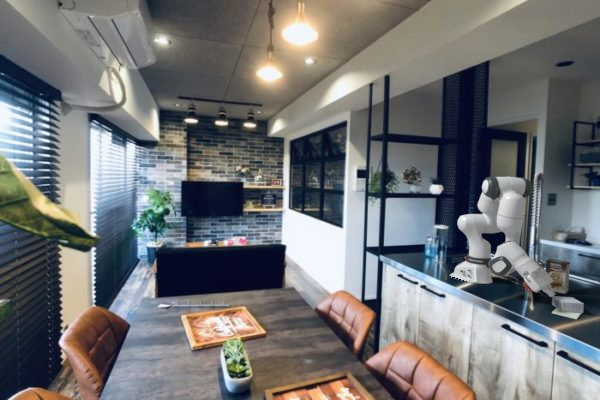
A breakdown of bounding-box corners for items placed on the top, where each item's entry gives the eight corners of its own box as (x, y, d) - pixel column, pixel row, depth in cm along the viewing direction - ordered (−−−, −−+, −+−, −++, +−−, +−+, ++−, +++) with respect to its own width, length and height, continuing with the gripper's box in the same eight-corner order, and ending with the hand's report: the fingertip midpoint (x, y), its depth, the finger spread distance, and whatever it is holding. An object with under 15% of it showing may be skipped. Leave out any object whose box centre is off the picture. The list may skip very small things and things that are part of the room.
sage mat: (551, 313, 146) (551, 311, 146) (558, 307, 153) (558, 306, 153) (576, 319, 140) (576, 318, 140) (582, 313, 147) (582, 311, 147)
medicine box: (561, 311, 146) (583, 313, 145) (561, 301, 146) (584, 303, 144) (551, 304, 154) (572, 306, 152) (552, 295, 154) (573, 297, 152)
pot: (545, 291, 174) (544, 280, 173) (535, 297, 171) (535, 285, 170) (529, 286, 181) (528, 275, 180) (520, 291, 178) (519, 280, 177)
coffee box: (543, 289, 179) (545, 259, 178) (548, 287, 183) (549, 258, 182) (564, 294, 172) (566, 263, 171) (568, 291, 176) (570, 261, 175)
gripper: (527, 269, 148) (553, 297, 141) (541, 263, 161) (565, 287, 155) (515, 277, 152) (540, 304, 145) (529, 270, 165) (552, 294, 158)
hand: (553, 295), depth 150 cm, fingers closed
